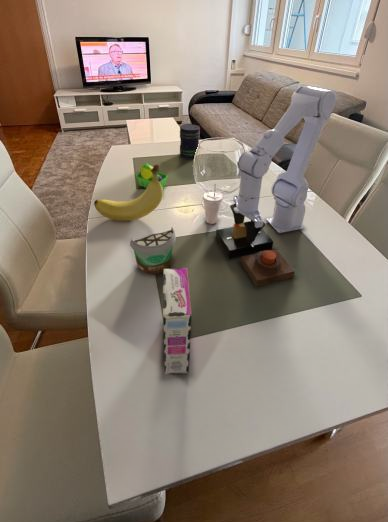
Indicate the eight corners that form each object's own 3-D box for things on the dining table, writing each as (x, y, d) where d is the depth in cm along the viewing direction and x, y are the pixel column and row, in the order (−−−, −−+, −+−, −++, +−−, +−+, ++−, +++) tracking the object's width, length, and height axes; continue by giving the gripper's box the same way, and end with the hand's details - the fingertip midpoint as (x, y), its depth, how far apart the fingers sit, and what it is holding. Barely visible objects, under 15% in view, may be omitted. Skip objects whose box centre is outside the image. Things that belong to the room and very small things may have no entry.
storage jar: (177, 158, 148) (177, 129, 141) (181, 151, 156) (181, 123, 149) (197, 160, 146) (198, 130, 139) (200, 152, 155) (201, 124, 148)
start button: (270, 254, 81) (271, 249, 80) (277, 262, 78) (278, 257, 77) (258, 256, 80) (259, 251, 79) (265, 265, 77) (266, 260, 76)
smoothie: (219, 227, 97) (222, 190, 91) (200, 224, 99) (201, 187, 92) (221, 216, 103) (224, 180, 96) (203, 214, 104) (205, 178, 98)
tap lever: (253, 231, 91) (255, 220, 89) (255, 234, 89) (257, 223, 87) (232, 235, 89) (233, 224, 87) (234, 239, 87) (235, 227, 85)
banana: (94, 223, 98) (85, 168, 89) (98, 213, 103) (90, 160, 94) (163, 223, 99) (161, 168, 89) (164, 213, 104) (162, 161, 95)
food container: (139, 284, 75) (136, 253, 71) (132, 268, 80) (129, 238, 75) (183, 268, 81) (183, 239, 76) (174, 254, 85) (173, 226, 81)
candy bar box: (190, 374, 56) (192, 315, 48) (164, 376, 56) (161, 316, 48) (187, 322, 66) (187, 266, 58) (164, 323, 66) (162, 267, 58)
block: (275, 255, 86) (277, 244, 84) (293, 277, 79) (296, 265, 77) (240, 262, 83) (242, 251, 81) (256, 286, 75) (258, 275, 74)
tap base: (254, 228, 97) (256, 220, 96) (273, 250, 88) (274, 242, 86) (215, 236, 93) (215, 228, 92) (229, 260, 84) (230, 251, 82)
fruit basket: (169, 186, 121) (168, 161, 116) (155, 195, 115) (154, 169, 110) (147, 179, 127) (146, 154, 121) (133, 187, 120) (130, 161, 115)
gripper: (225, 184, 87) (222, 222, 94) (248, 209, 75) (243, 251, 82) (247, 181, 89) (242, 218, 96) (272, 205, 77) (265, 246, 84)
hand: (244, 233), depth 89 cm, fingers open, 7 cm apart
